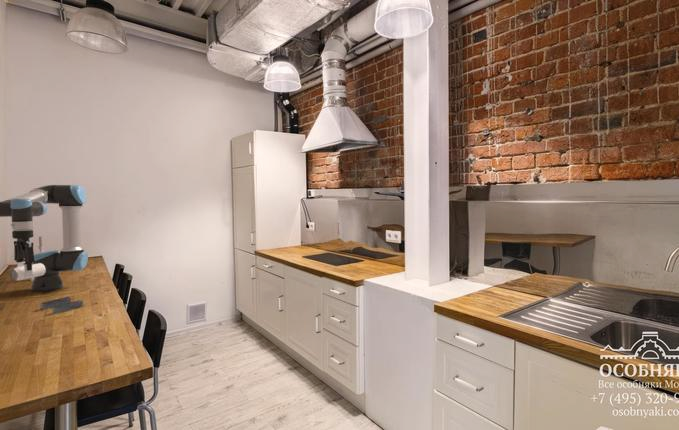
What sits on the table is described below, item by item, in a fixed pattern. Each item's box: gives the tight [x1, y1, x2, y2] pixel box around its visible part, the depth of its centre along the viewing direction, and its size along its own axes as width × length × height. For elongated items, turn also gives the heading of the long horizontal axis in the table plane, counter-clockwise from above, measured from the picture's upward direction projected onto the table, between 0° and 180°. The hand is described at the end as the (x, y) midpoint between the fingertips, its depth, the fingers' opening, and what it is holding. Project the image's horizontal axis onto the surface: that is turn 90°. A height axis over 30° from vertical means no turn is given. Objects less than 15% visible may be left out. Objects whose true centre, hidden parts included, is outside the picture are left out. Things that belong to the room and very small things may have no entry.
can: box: [9, 263, 46, 281], centre depth 166 cm, size 6×6×12 cm
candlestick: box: [29, 236, 45, 282], centre depth 229 cm, size 13×13×30 cm
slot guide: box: [39, 296, 84, 315], centre depth 174 cm, size 15×12×3 cm
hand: (25, 275), depth 165 cm, fingers closed on can, 7 cm apart
